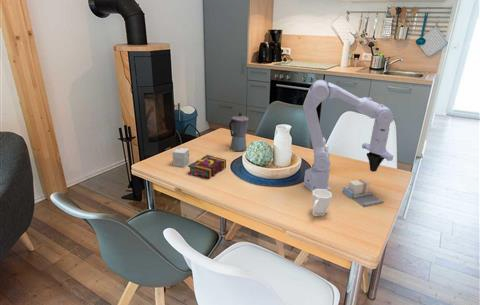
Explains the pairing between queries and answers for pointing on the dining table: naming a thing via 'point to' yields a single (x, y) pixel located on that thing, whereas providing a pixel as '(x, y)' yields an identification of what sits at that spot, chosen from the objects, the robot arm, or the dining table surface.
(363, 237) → the dining table surface
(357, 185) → the block
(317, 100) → the robot arm
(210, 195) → the dining table surface
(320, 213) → the cup
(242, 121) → the moka pot
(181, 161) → the skincare box
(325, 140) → the eye dropper bottle
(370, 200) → the grey ribbed plate
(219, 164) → the decorative book
